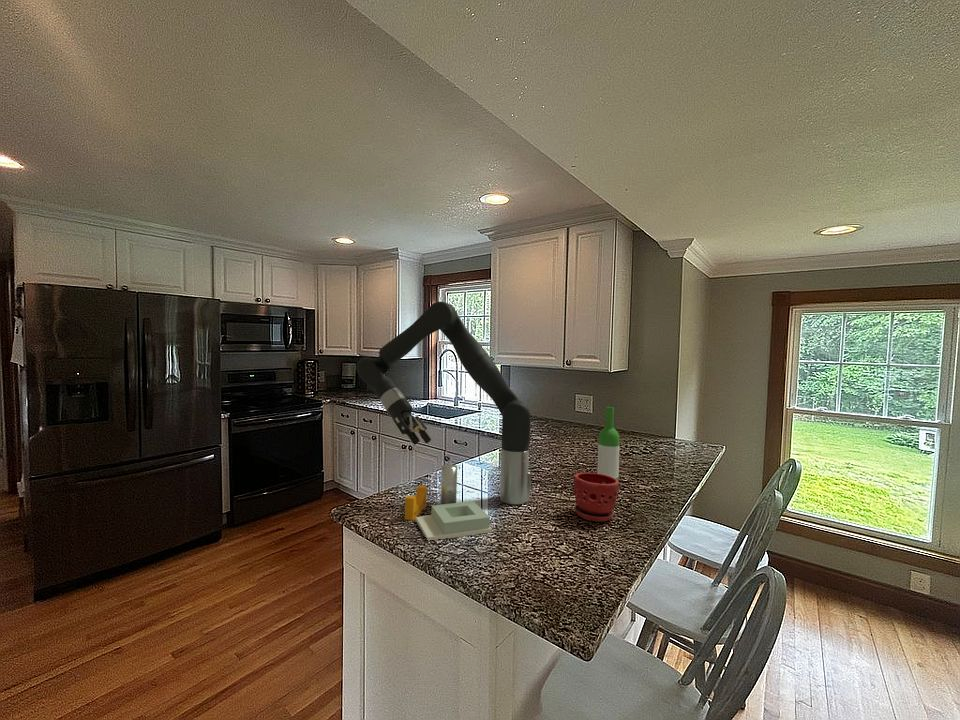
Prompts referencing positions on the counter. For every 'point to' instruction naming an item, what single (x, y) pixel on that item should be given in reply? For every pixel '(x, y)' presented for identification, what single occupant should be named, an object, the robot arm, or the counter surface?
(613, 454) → the wine bottle
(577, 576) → the counter surface
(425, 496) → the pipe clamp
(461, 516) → the pale green square frame
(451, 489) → the steel shaft
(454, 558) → the counter surface
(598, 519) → the plant pot
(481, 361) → the robot arm
